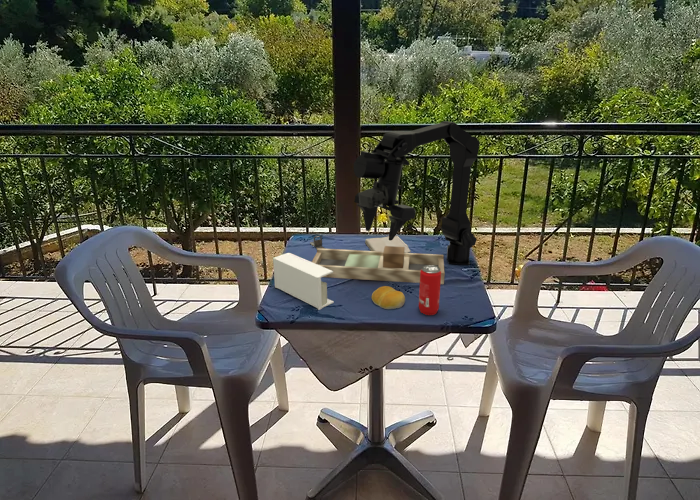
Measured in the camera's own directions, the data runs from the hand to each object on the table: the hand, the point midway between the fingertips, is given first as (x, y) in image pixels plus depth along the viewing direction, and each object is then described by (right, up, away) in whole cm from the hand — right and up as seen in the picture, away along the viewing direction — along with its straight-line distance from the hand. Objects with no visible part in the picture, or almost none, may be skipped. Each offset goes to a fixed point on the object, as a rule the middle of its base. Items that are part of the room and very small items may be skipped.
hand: (378, 235), depth 142 cm
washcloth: (+5, -5, +30) cm, 31 cm away
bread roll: (+2, -18, -5) cm, 19 cm away
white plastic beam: (-21, -17, 0) cm, 27 cm away
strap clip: (-19, -4, +33) cm, 38 cm away
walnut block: (+5, -8, +13) cm, 16 cm away
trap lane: (0, -10, +14) cm, 18 cm away
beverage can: (+12, -20, -10) cm, 25 cm away
